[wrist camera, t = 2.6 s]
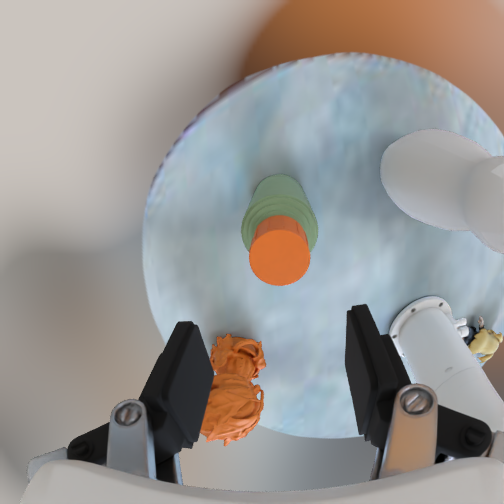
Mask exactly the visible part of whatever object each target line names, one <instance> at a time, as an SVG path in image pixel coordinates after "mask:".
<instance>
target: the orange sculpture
mask: <svg viewBox="0 0 504 504" xmlns="http://www.w3.org/2000/svg"><path fill="white" fill-rule="evenodd" d="M226 335H227V336H226V337H225V338H223V339H222V338H221V337H217V341H216V342H217V347H216V346H215V345H214V344H213V345H212V349H211V357H210V362H211V365H212V367H213V370H214V371H215V372H216V373H217V375H215V376H214V379H213V383H212V387H211V391H210V395H209V399H208V403H207V407H206V410H205V414H204V418H203V422H202V426H201V430H200V433H201V434H203V435H205V436H206V437H207V441H206V442H209V441H213V440H217V439H219V440H224V446H227V445H228V444H229V442H230V441H232V440H235V441H237V440H239V439H240V438H243V437H245V436H246V435H247V434H248V432H249V431H251V430H253V428H254V427H255V426H256V424H257V423H258V421H259V420H260V412H261V411H262V410H263V406H264V403H263V399H264V392H263V390H261V388H260V386H259V385H255V386H254V385H253V384H252V383H251V380H252V379H255V378H257V377H258V372H259V371H260V369H261V370H262V369H263V368H265V367H266V363H265V360H264V353H263V350H262V348H261V347H262V344H261V341H260V342H256V341H255V340H253V339H245V338H241V337H231V334H226ZM257 343H258V344H257ZM260 391H261V399H260V400H258V399H257V396H256V395H257V394H258V393H259V392H260Z"/></svg>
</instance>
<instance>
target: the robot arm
mask: <svg viewBox="0 0 504 504" xmlns="http://www.w3.org/2000/svg"><path fill="white" fill-rule="evenodd" d="M466 323H467V321H466V318H465V317H464V318H460V319H458V320H455V319H454V318H453V317H452V310H451V307H450V306H449V304H448V303H447V302H446V301H445V300H444V299H442V298H440V297H436V296H429V297H424V298H421V299H418V300H416V301H414V302H413V303H411V304H410V305H408V306H407V307H405V308H404V309H403V310H402V311H401V312H400V313H399V315H398V316H397V317H396V318H395V320H394V322H393V323H392V325H391V328H390V331H389V334H385V335H380V334H379V331H378V329H377V327H376V324H375V322H374V320H373V317H372V315H371V313H370V311H369V308H368V306H367V304H363V305H356V306H352V309H351V310H348V311H347V326H346V349H345V367H346V372H347V377H348V381H349V386H350V391H351V396H352V400H353V405H354V411H355V416H356V421H357V426H358V432H359V435H363V434H364V437H365V441H369V440H371V444H372V445H374V446H376V447H378V448H377V452H376V457H375V461H374V465H373V469H372V473H371V476H370V480H369V481H368V482H364V483H358V484H353V485H346V486H340V487H333V488H324V489H315V490H301V491H281V492H252V491H230V490H218V489H208V488H200V487H192V486H186V485H183V481H182V474H181V468H180V461H179V452H180V451H181V449H182V448H190V449H192V446H193V443H194V442H197V441H198V438H199V434H200V430H201V426H202V422H203V418H204V414H205V410H206V407H207V403H208V399H209V395H210V391H211V387H212V383H213V379H214V371H213V367H212V365H211V362H210V359H209V356H208V354H207V351H206V348H205V345H204V342H203V339H202V336H201V333H200V330H199V327H198V325H194V323H193V322H192V321H184V322H178V323H177V324H176V326H175V328H174V330H173V332H172V334H171V336H170V338H169V340H168V343H167V345H166V347H165V349H164V351H163V353H161V354H160V356H159V358H158V359H157V362H156V364H155V366H154V368H153V370H152V372H151V374H150V376H149V378H148V380H147V382H146V385H145V387H144V389H143V391H142V393H141V395H140V397H139V400H136V399H128V400H124V401H122V402H120V403H119V404H117V405H116V406H115V407H114V409H113V410H112V412H111V416H110V422H108V423H106V424H104V425H102V426H100V427H98V428H96V429H94V430H92V431H89V432H87V433H85V434H83V435H81V436H78V437H77V438H75V439H73V440H72V441H71V443H70V444H69V446H68V449H67V448H65V447H63V448H60V449H57V450H55V451H52V452H49V453H46V454H43V455H40V456H37V457H34V458H33V459H31V460H30V461H29V463H28V465H27V475H28V481H29V485H28V487H27V489H26V490H25V492H24V495H23V497H22V499H21V501H20V503H19V504H504V402H503V401H502V399H501V398H500V396H499V395H498V394H497V392H496V390H495V389H494V387H493V386H492V384H491V383H490V381H489V379H488V378H487V376H486V375H485V373H484V371H483V370H482V368H481V366H480V365H479V363H478V362H477V360H476V359H475V357H474V355H473V354H472V352H471V351H470V349H469V348H468V346H467V345H466V343H465V342H464V340H463V339H462V337H466V336H468V334H469V329H468V327H467V326H464V327H460V326H463V325H466ZM458 326H459V327H460V328H458V329H457V327H458ZM400 356H402V357H405V358H406V360H407V362H408V364H409V367H410V369H411V371H412V374H413V376H414V378H415V381H416V384H411V381H410V379H409V376H408V374H407V372H406V369H405V367H404V365H403V362H402V360H401V358H400Z"/></svg>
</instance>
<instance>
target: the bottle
mask: <svg viewBox="0 0 504 504" xmlns="http://www.w3.org/2000/svg"><path fill="white" fill-rule="evenodd" d="M276 215H284V216H288V217H291V218H293V219H294V220H296V221H297V222H298V223H299V224H300V225H301V226H302V228H303V230H304V231H305V233H306V237H307V240H308V244H309V246H308V247H309V251H310V252H311V251H312V249H313V248H314V246H315V243H316V241H317V237H318V225H317V221H316V218H315V215H314V213H313V211H312V209H311V206H310V204H309V202H308V200H307V198H306V195H305V193H304V191H303V189H302V187H301V185H300V184H299V183H298V182H297V181H296V180H295V179H293V178H292V177H290V176H287V175H282V174H276V175H272V176H269V177H267V178H265V179H264V180H263V181H261V182H260V184H259V185H258V187H257V188H256V191H255V193H254V195H253V197H252V200H251V202H250V204H249V207H248V209H247V211H246V213H245V216H244V218H243V221H242V227H241V234H242V239H243V242H244V245H245V247H246V249H247V250H248V251H249V250H250V246H251V242H252V238H253V237H254V233H255V230H256V228H257V226H258V225H259V224H260V223H261V222H262V221H263V220H265V219H267V218H269V217H271V216H276ZM249 253H250V252H249Z"/></svg>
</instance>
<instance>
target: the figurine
mask: <svg viewBox="0 0 504 504" xmlns="http://www.w3.org/2000/svg"><path fill="white" fill-rule="evenodd" d="M478 323H479V324H480V325H479V333H477V332H476V328H475V327H472V326H471V327H468V326H467V327H468V329H469V334H468V336H466V337H462V339H463V340H464V342H465V343H466V345H467V346H468V345H469V346H468V348H469V349H470V351H471V352H472V354H476V353H479V352H480V353H481V354H482V355H485V356H484V357H481V358H479V357H478V358H479V359H480V360H481V361H482V362H480V363H483V362H485V361H487V360H488V359H490V358H491V357H492V356H493V353H494V352H495V351H496V350H497V348H498V346H499V342H502V341H503V337H502V333H501V332H499V333H500V334H496V333H495V332H494V331H493V330H486V329H484V325H483V318H482V317H481V316H479V320H478ZM458 328H460V327H457V329H458Z"/></svg>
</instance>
